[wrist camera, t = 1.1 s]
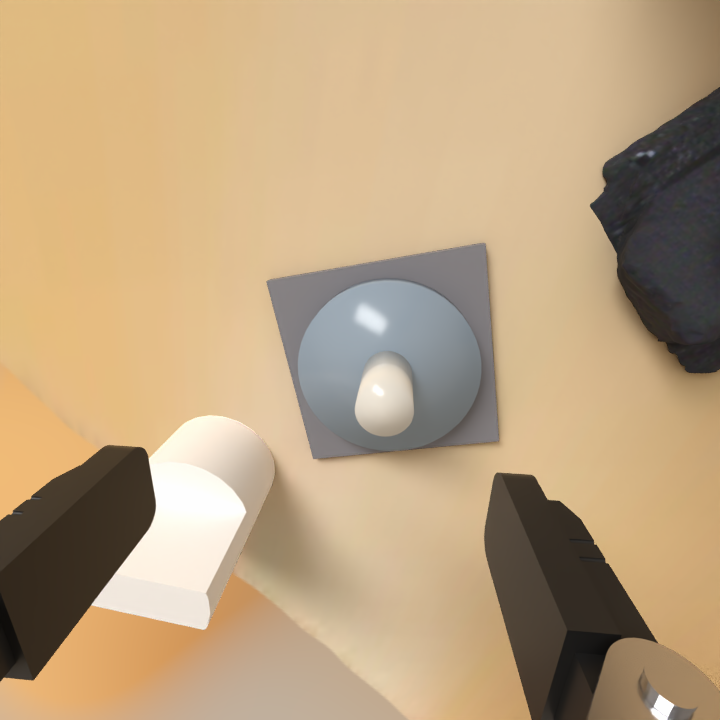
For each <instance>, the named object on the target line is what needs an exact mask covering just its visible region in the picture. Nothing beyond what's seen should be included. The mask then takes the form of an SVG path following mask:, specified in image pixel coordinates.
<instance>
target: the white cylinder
mask: <svg viewBox="0 0 720 720" xmlns="http://www.w3.org/2000/svg"><path fill="white" fill-rule="evenodd" d="M149 464H150V470H151V476H152V481H153V487H154V493H155V498H156V511H155V516H154V519H153V522H152V524H151V526H150V528H149V530H148V531H147V532H146V534H145V535H144V536H143V538H142V539H141V540H140V542H139V543H138V544H137V546H136V547H135V548H134V549H133V551H132V552H131V553H130V555H129V556H128V557H127V559H126V560H125V561H124V563H123V564H122V565H121V566H120V568H119V569H118V570H117V572H116V573H115V574H114V576H113V577H112V578H111V580H110V581H109V582H108V584H107V585H106V586H105V587H104V589H103V590H102V591H101V593H100V594H99V595H98V597H97V598H96V599H95V601H94V602H93V603H92V606H97V607H101V608H107V609H111V610H115V611H120V612H125V613H129V614H134V615H138V616H143V617H148V618H153V619H157V620H161V621H166V622H171V623H175V624H180V625H184V626H189V627H194V628H198V629H203V630H205V629H206V628H207V626H208V624H209V622H210V619H211V617H212V615H213V613H214V611H215V609H216V606H217V604H218V602H219V600H220V598H221V595H222V593H223V591H224V589H225V587H226V584H227V582H228V580H229V578H230V576H231V574H232V571H233V569H234V567H235V565H236V563H237V560H238V558H239V556H240V554H241V552H242V550H243V547H244V545H245V543H246V541H247V539H248V536H249V534H250V532H251V530H252V528H253V526H254V523H255V521H256V519H257V517H258V515H259V512H260V510H261V508H262V506H263V504H264V501H265V499H266V497H267V495H268V493H269V491H270V488H271V486H272V483H273V480H274V476H275V463H274V460H273V457H272V454H271V451H270V449H269V448H268V446H267V445H266V443H265V442H264V440H263V439H262V438H261V437H260V436H259V435H258V434H257V433H256V432H254V431H253V430H252V429H251V428H249V427H247V426H246V425H244V424H242V423H241V422H239V421H236V420H233V419H230V418H227V417H222V416H211V415H209V416H203V417H196V418H194V419H192V420H190V421H188V422H186V423H184V424H183V425H182V426H181V427H180V428H179V429H178V430H177V431H176V432H175V433H174V434H173V435H172V436H171V437H170V438H169V439H168V440H167V441H166V442H165V443H164V444H163V445H162V446H161V447H160V448H159V449H158V450H157V451H156V452H155V453H154V454H153V455H152V456H151V457H150V458H149Z"/></svg>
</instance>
